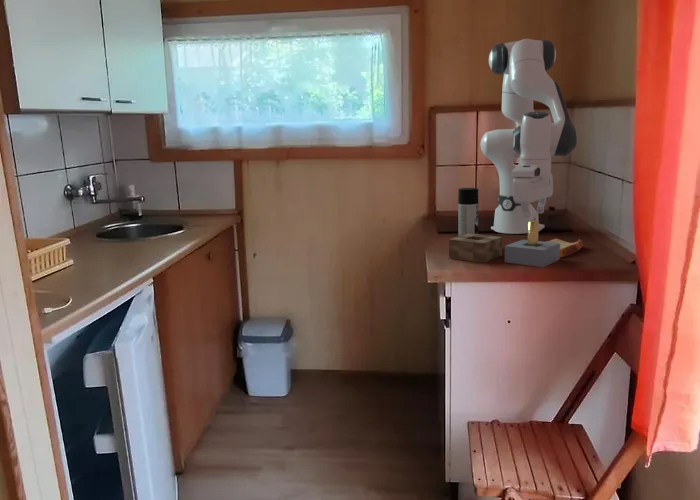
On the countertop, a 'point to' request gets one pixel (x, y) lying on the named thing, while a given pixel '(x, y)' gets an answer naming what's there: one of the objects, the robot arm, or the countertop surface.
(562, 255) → the slice of bread
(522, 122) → the robot arm
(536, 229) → the brass pin
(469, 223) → the spray can
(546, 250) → the slate socket block
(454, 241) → the tan wooden mount
